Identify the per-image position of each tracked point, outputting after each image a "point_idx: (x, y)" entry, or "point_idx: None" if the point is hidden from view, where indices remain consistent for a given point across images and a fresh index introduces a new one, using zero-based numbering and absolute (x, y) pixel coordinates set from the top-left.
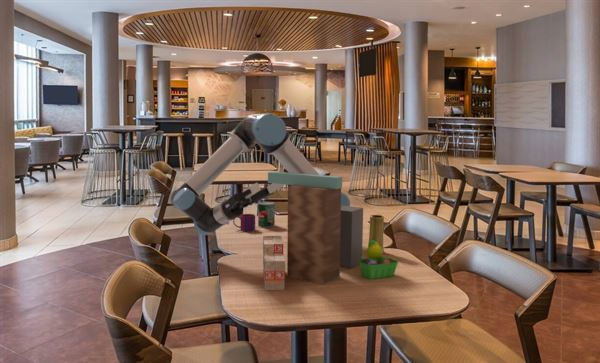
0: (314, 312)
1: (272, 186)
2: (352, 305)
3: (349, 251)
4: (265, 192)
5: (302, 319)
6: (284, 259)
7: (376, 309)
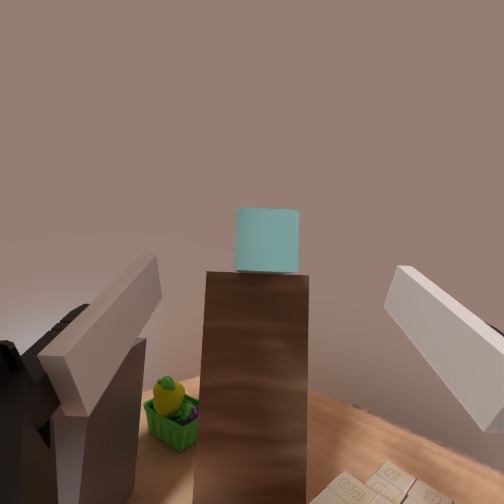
0: (393, 444)
1: (117, 324)
2: (326, 421)
3: (135, 444)
4: (42, 447)
5: (426, 445)
6: (381, 467)
7: (313, 403)
